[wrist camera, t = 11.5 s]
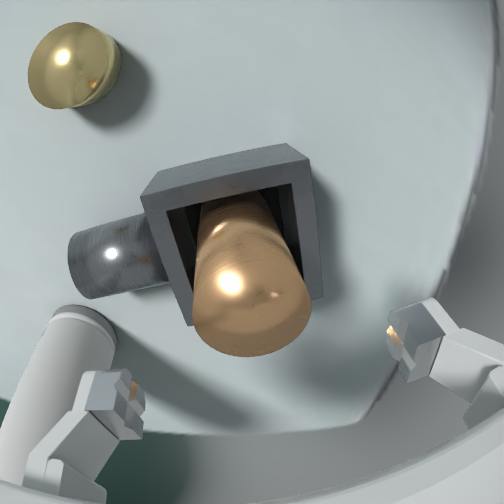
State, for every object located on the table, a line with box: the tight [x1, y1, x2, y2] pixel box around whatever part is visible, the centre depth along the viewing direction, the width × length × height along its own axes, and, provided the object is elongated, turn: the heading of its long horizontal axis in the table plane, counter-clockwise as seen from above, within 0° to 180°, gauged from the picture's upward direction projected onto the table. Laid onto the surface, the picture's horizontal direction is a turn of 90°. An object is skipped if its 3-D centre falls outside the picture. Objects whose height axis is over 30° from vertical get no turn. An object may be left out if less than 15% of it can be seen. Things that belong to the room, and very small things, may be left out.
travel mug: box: [0, 305, 117, 486], centre depth 14 cm, size 6×7×20 cm
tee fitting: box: [68, 143, 323, 326], centre depth 18 cm, size 8×14×5 cm, turn 101°
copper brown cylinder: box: [192, 190, 311, 357], centre depth 16 cm, size 4×4×10 cm
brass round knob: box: [28, 22, 121, 109], centre depth 13 cm, size 5×5×3 cm
